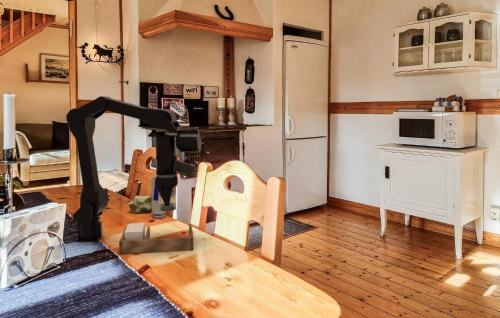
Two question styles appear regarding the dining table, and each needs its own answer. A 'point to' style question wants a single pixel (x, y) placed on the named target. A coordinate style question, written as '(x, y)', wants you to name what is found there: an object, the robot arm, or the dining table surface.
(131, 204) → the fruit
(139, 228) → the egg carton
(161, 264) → the dining table surface
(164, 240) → the crate
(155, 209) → the beverage can
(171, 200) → the clear glass jar
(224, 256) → the dining table surface
